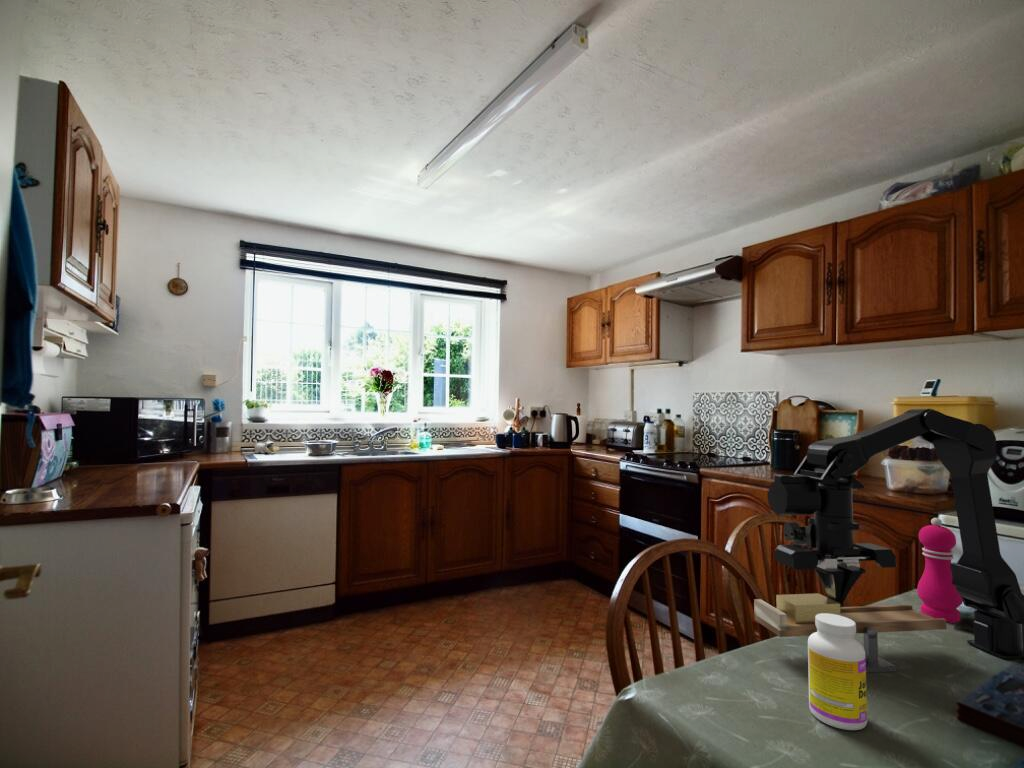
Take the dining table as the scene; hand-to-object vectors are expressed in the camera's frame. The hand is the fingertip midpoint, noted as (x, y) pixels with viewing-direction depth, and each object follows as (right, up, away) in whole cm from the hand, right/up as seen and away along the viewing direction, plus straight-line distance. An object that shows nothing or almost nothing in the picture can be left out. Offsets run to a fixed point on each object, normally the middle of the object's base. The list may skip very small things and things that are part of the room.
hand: (835, 607), depth 88 cm
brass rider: (-5, -2, -1) cm, 6 cm away
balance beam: (+2, -3, 0) cm, 3 cm away
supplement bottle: (-12, -7, -19) cm, 23 cm away
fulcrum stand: (+2, -8, 0) cm, 8 cm away
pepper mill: (+32, -10, +17) cm, 38 cm away
